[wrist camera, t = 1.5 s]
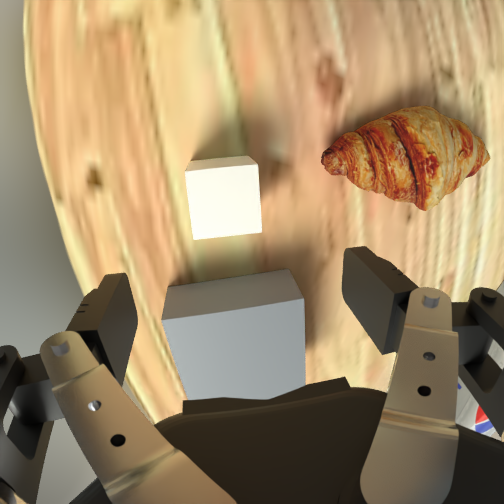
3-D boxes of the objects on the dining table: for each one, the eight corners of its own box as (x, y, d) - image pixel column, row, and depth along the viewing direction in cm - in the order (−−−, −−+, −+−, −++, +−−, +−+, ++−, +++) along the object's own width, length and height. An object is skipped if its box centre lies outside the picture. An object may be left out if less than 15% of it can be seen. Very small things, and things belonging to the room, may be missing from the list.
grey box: (287, 267, 32) (304, 298, 27) (292, 357, 37) (305, 392, 32) (168, 285, 31) (161, 320, 26) (192, 372, 36) (192, 410, 31)
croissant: (458, 125, 32) (496, 98, 24) (482, 203, 31) (527, 187, 23) (300, 130, 30) (321, 87, 22) (324, 230, 29) (357, 213, 21)
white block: (247, 155, 27) (257, 164, 22) (251, 210, 29) (262, 232, 24) (189, 161, 27) (185, 171, 21) (196, 216, 29) (193, 239, 23)
